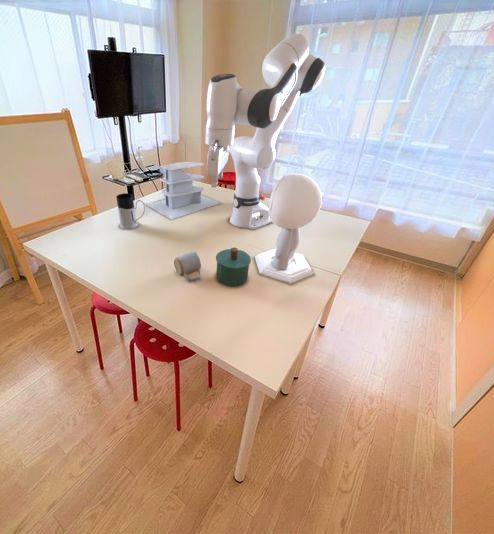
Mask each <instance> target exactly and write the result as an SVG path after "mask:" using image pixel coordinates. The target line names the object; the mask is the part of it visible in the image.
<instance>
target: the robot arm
mask: <svg viewBox="0 0 494 534" xmlns="http://www.w3.org/2000/svg"><path fill="white" fill-rule="evenodd" d="M325 71H326V63H325V62H324V61H323V59H321V58H320V57H317V56H314V55H313V54H312V53H310V43H309V41H308V39H307V37H306V36H305V35H304V34H301V33H294V34H291V35H288V36H287V37H285V38H284V39H282V40H281V41H280V42H278V43H277V44H276V45H275V46H273V48H272V49H270V51H268V53H267V54H266V56H265V57H264V59H263V61H262V66H261V73H262V78H263V80H264V82H265V84H266V85H268V87H269V88H244V87H243V86H241V85H240V83H239V82H238V78H237V75H235V74H233V73H223V74H218V75H215V76H213V77H211V78H210V80H209V81H208V85H207V93H206V109H205V111H206V117H207V118H206V119H207V120H206V123H205V139H204V140H205V145H207V146H208V151H207V158H206V161H207V162H206V176H207V177H210V181H211V184H210V187H211V188H214V189H215V188H217V187H218V186H219V185H218V184H219V181H218V180H222V178H223V173H224V171H225V166H226V164H227V163H228V161H229V157H230V156H231V158H232V160H233V161H232V162H233V165H234V166H233V167H234V171H235V190H234V194H233V205H232V206H233V207H232V211H231V215H230V218H229V223H230V225H233V226H235V227H238V228H243V229H244V228H245V229H249V230H256V229H258V228H261V227H264V226H266V225H269V224H272V223H273V222H272V220H271V217H270V216H269V214H268V207H269V206H267V205H266V204H264V203H263V202H262V201H265V199H266V197H265V196H264V195H263V194H260V193H259V192H260V185H261V176H260V175H259V174H258V170H257V169H259V170H265V169H268V168H269V167H271V166H272V165H273V163H275V160H276V149H275V145H276V141H277V138H278V135H279V134H280V131H281V130H282V128H283V126H284V124H285V122H286V121H287V119H288V117H289V116H290V114H291V113H292V111H293V109H294V107H295V105H296V102H297V101H298V98H299V96H300V97H302V96H304V95H305V94H309V93H311V92H312V91H314V90H315V89H316V88H317V87H318V86H319V84H320V83H321V82H322V80H323V78H324V75H325ZM236 124H237V125H242V126H249V127H250V126H252V127H254V128H256V129H255V133H254V135H253V137H251V136H247V135H241V136H236V137H235V131H236V130H235V129H236Z"/></svg>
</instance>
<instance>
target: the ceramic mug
mask: <svg viewBox="0 0 494 534" xmlns="http://www.w3.org/2000/svg"><path fill="white" fill-rule="evenodd" d="M173 266H174V269H175V271H176V273H177V274H178V275H180V276H184V277H185V278H186V279H187V280H188V281H191V282H195V281H197V280H198V279H199V278H200V277H201V268H202V262H201V259H200V256H199V254H198V253H197V252H196V250H190V251H187V252H185V253H183V254H180V255H178V256H176V257H175V258H174V259H173ZM194 272H198V275H197V276H196V277H190V276H188V275H189V274H191V273H194Z"/></svg>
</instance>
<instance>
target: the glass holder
mask: <svg viewBox="0 0 494 534" xmlns="http://www.w3.org/2000/svg"><path fill="white" fill-rule="evenodd" d="M138 202H141V203H142V205H143V212H142V214H141V215H140V216H139V217H138V218H137V214H136V209H137V208H138ZM116 205H117V211H118V212H117V213H118V218H119V222H120V225H119V227H120V229H122V230H132V229H135V228H137V227H138V226H139V224H138V220H140V219H141V218H142V217H143V216H144V214H145V211H146V204H145V202H144V201H143V200H141V199H138V200H136V202H135V201H134V195H133V194H132V193H126V192H124V193H120V194H117V195H116Z"/></svg>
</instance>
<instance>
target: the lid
mask: <svg viewBox="0 0 494 534" xmlns="http://www.w3.org/2000/svg"><path fill="white" fill-rule="evenodd" d="M215 260H216V263H217V262H218V264H219V265H221V266H223V267H225V268H229V269H242V268H245V267H247V266H248V265H249V266H250V264H251V263H252V257H251V255H250V254H249V253H248V252H246V251H244V250H241V249H239V248H238V247H230V248H226V249H223V250H221V251H219V252H217V254H216V256H215Z"/></svg>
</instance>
